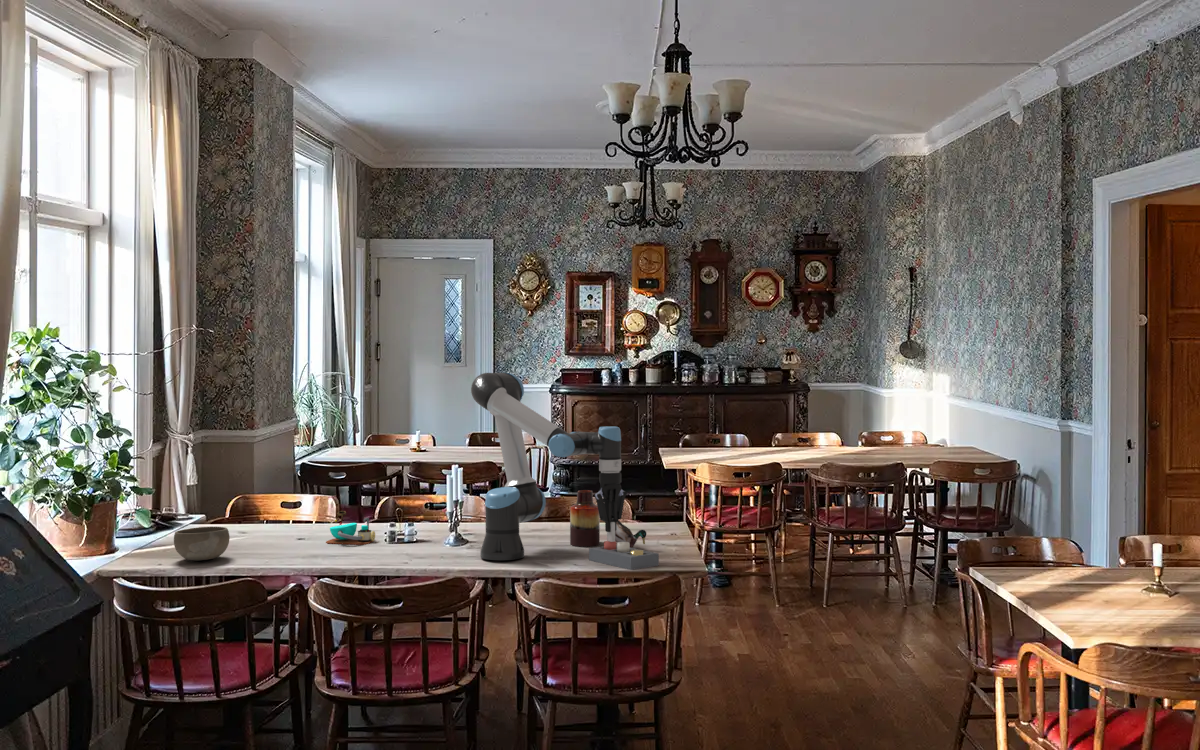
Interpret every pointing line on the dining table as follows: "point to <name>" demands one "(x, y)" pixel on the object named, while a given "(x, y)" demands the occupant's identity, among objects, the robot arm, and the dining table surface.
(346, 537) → the contraption on wooden base
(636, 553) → the gold rounded piece
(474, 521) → the dining table surface
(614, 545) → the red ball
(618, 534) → the decorative duck model
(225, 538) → the bowl
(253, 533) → the dining table surface
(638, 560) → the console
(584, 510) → the vase
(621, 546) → the ivory button
